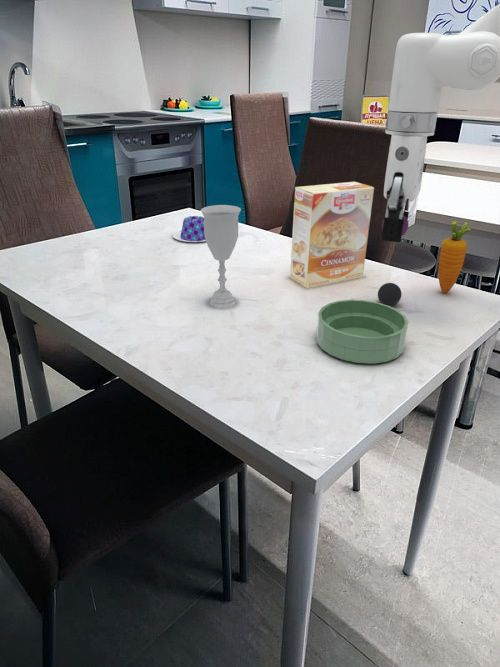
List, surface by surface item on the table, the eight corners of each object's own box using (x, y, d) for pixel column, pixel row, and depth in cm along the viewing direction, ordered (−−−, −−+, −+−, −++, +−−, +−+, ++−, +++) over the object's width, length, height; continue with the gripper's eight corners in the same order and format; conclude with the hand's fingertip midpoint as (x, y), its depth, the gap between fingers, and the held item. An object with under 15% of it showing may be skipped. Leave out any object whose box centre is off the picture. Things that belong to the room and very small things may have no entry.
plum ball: (393, 233, 91) (396, 208, 89) (411, 239, 87) (415, 214, 85) (375, 236, 89) (378, 211, 87) (393, 243, 85) (397, 217, 83)
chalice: (224, 293, 101) (223, 203, 93) (248, 303, 97) (249, 209, 89) (196, 303, 97) (192, 209, 89) (220, 314, 93) (218, 216, 84)
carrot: (451, 289, 105) (467, 217, 98) (461, 298, 100) (478, 224, 93) (428, 289, 105) (441, 217, 98) (436, 298, 100) (451, 224, 93)
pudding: (181, 230, 141) (180, 211, 139) (222, 233, 139) (222, 214, 137) (166, 242, 131) (165, 222, 128) (211, 246, 129) (210, 225, 126)
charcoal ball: (387, 298, 100) (390, 277, 98) (404, 306, 97) (408, 285, 95) (371, 303, 98) (374, 282, 96) (388, 311, 95) (391, 289, 93)
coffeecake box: (306, 289, 104) (313, 193, 95) (288, 278, 109) (293, 186, 100) (364, 278, 110) (375, 186, 101) (344, 267, 115) (353, 180, 106)
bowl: (360, 319, 91) (363, 293, 89) (421, 351, 81) (427, 323, 79) (299, 337, 85) (300, 311, 82) (357, 376, 74) (360, 346, 72)
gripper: (429, 130, 71) (408, 254, 80) (440, 121, 85) (421, 227, 94) (376, 127, 74) (361, 247, 82) (395, 119, 88) (381, 222, 96)
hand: (393, 235), depth 88 cm, fingers closed on plum ball, 4 cm apart
